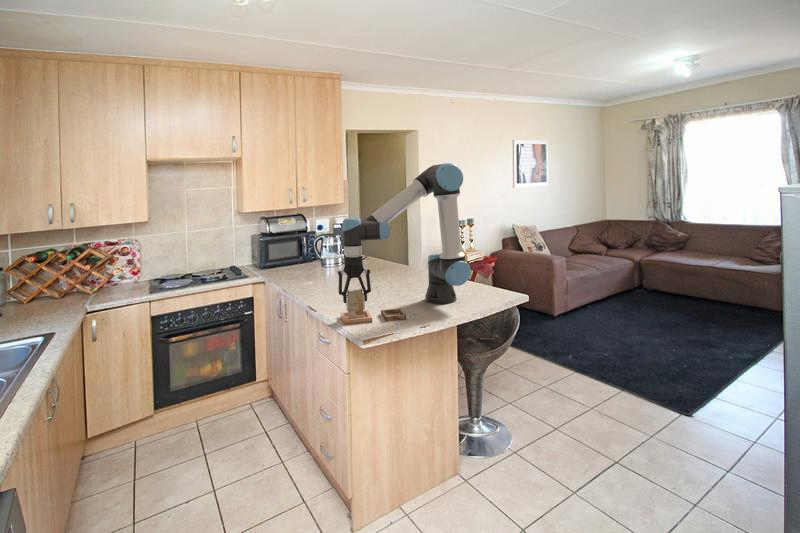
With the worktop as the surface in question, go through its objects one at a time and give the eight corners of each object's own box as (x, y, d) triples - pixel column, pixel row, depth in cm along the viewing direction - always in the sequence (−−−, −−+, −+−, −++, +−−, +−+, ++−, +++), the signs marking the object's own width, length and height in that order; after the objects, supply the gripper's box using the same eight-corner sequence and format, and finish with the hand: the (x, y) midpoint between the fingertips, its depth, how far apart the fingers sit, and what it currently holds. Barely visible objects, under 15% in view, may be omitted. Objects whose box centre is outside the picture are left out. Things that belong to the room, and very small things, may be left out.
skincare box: (349, 320, 182) (347, 291, 180) (348, 317, 186) (346, 289, 184) (364, 318, 183) (362, 290, 181) (363, 315, 187) (361, 288, 185)
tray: (368, 314, 192) (368, 310, 191) (372, 322, 180) (372, 317, 180) (341, 317, 189) (340, 312, 189) (343, 325, 178) (343, 320, 177)
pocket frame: (400, 312, 193) (400, 308, 193) (406, 319, 183) (406, 315, 182) (381, 314, 191) (380, 310, 191) (385, 321, 181) (385, 317, 180)
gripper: (374, 253, 186) (376, 305, 190) (329, 255, 182) (332, 309, 186) (377, 255, 178) (379, 309, 182) (330, 258, 174) (333, 313, 178)
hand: (355, 309), depth 184 cm, fingers closed on skincare box, 6 cm apart
